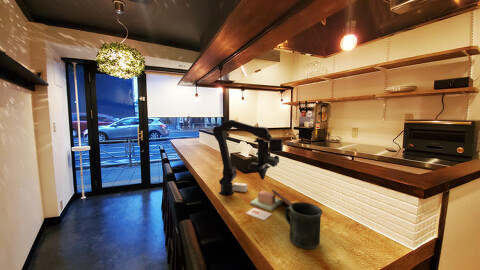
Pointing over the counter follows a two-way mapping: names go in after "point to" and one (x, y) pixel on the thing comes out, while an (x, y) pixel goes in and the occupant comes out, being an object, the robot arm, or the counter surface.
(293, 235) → the mug
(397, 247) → the counter surface
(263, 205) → the baseplate
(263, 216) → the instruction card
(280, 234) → the counter surface
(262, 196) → the terracotta brick
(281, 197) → the wooden tablet
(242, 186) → the cream brick
